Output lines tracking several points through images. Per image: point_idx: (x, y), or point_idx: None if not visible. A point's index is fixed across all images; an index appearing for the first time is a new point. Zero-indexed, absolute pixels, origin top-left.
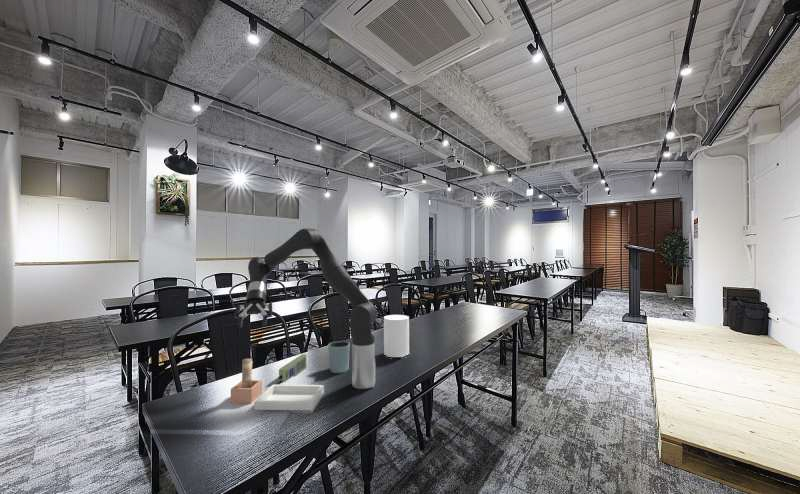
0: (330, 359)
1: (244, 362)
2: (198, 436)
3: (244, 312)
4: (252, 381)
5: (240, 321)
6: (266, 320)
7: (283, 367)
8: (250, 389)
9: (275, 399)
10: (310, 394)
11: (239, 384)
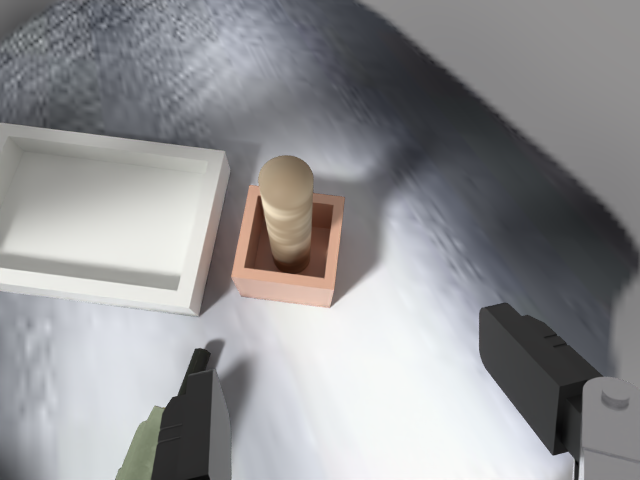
0: None
1: (292, 160)
2: (346, 66)
3: (598, 449)
4: (277, 272)
5: (523, 330)
6: (160, 431)
7: (145, 453)
8: (254, 186)
9: (166, 231)
10: (18, 261)
11: (328, 246)
